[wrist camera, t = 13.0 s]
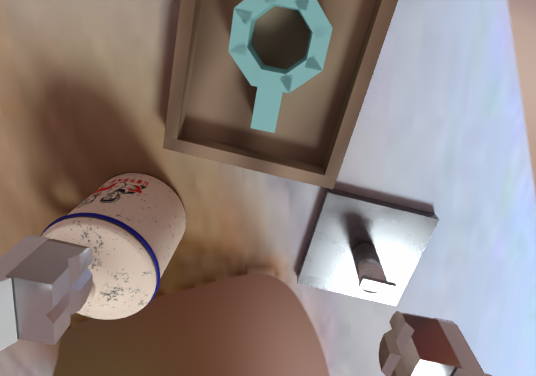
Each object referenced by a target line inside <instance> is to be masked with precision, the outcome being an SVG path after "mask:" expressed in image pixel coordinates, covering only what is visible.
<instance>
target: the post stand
mask: <svg viewBox="0 0 536 376" xmlns="http://www.w3.org/2000/svg"><path fill="white" fill-rule="evenodd" d="M438 221H439V219H438V217H437V216H436V215H435V214H432V213H428V212H424V211H420V210H416V209H412V208H408V207H403V206H399V205H395V204H391V203H387V202H383V201H379V200H375V199H371V198H366V197H362V196H358V195H354V194H350V193H346V192H342V191H338V190H334V189H329V188H327V189H326V192H325V195H324V198H323V201H322V204H321V207H320V210H319V213H318V216H317V219H316V222H315V225H314V228H313V231H312V234H311V237H310V240H309V243H308V246H307V249H306V252H305V255H304V258H303V261H302V264H301V267H300V270H299V273H298V276H297V283H299V284H303V285H307V286H312V287H316V288H320V289H325V290H329V291H333V292H338V293H342V294H346V295H350V296H355V297H359V298H363V299H368V300H372V301H376V302H381V303H385V304H389V305H393V306H396V305H397V303H398V301H399V299H400V297H401V295H402V293H403V291H404V289H405V287H406V285H407V283H408V281H409V279H410V277H411V275H412V273H413V271H414V269H415V267H416V265H417V263H418V261H419V259H420V257H421V255H422V253H423V251H424V249H425V247H426V245H427V243H428V241H429V239H430V237H431V235H432V233H433V231H434V229H435V227H436V225H437V223H438Z"/></svg>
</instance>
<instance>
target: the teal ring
mask: <svg viewBox="0 0 536 376" xmlns="http://www.w3.org/2000/svg"><path fill="white" fill-rule="evenodd" d="M274 6H279V7H283V8H288V9H293V10H298V11H299V13H300V14H301V16H302V18H303V20H304V21H305V23H306V25H307V26H308V28H309V30H310V32H311V33H310V38H309V42H308V47H307V51H306V56H305V57H304V58H302V59H301V60H299V61H298V62H296V63H295V64H294V65H292V66H291V67H289V68H288V69H281V68H277V67H272V66H267V65H264V63H263V62H262V60H261V59H260V57H259V56H258V54H257V53H256V51H255V50H254V48H253V47H252V40H253V33H254V27H255V21H256V20H257V19H258V18H259V17H261V16H262V15H263V14H265V13H266V12H267V11H269V10H270V9H271V8H273V7H274ZM332 29H333V28H332V26H331V24H330V23H329V21H328V19H327V17H326V16H325V14H324V12H323V10H322V8H321V7H320V5H319V3H318V1H317V0H243V1H242V2H241V3H240V4H238V5H237V6H236V7H235V8H234V13H233V20H232V28H231V35H230V43H229V50H228V52H229V53H230V55H231V56H232V58H233V59H234V61H235V62H236V64H237V65H238V67H239V68H240V70H241V71H242V73H243V74H244V75H245V77H246V78H247V80H248V81H249V83H250V84H251V86H256V87H257V93H256V99H255V105H254V110H253V116H252V122H251V128H252V129H257V130H262V131H267V132H272V133H275V128H276V123H277V118H278V113H279V109H280V104H281V99H282V94H283V92H285V93H290V92H292V91H293V90H295V89H296V88H298V87H299V86H301V85H302V84H304V83H305V82H307V81H308V80H310V79H311V78H312V77H314V76H315V75H317V74H318V73H320V72H321V71H322V70H323V66H324V62H325V58H326V54H327V50H328V46H329V41H330V37H331V33H332Z"/></svg>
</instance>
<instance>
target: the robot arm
mask: <svg viewBox="0 0 536 376" xmlns="http://www.w3.org/2000/svg"><path fill="white" fill-rule="evenodd" d="M92 261H93V250H92V249H91V248H90V247H87V246H82V245H78V244H74V243H69V242H65V241H61V240H56V239H50V238H46V237H42V236H37V235H28V236H26V237H25V238H23V239H22V240H21V241H20V242H18V243H17V244H16V245H15V246H13V247H12V248H11V249H10V250H8V251H7V252H6V253H4V254H3V255H2V256H1V257H0V351H1V350H3V349H4V348H6V347H8V346H10V345H11V344H13V343H15V342H16V341H17V340H18V339H22V340H28V341H34V342H40V343H46V344H52V345H55V343H56V342H57V341H58V339H59V338H60V337H61V335H62V334H63V333H64V331H65V330H66V329H67V327H68V326H69V325H70V315H72V314H74V313H76V312H78V311H80V310H81V308H82V307H83V305H84V304H85V303H86V301H87V298H88V296H89V294H90V291H91V287H92V282H93V274H92V273H91V272H90V270H89V269H88V266H89V265H90V264H91V263H92ZM390 324H391V327H392V330H390V331H388V332H387V333H385V334H384V335H383V338H382V340H381V342H380V348H379V363H380V367H381V371H382V372H383V373H384V374H385V375H386V376H491V375H489V374H485V373H484V372H483V370H482V368H481V366H480V365H479V363H478V361H477V359H476V358H475V356H474V354H473V352H472V351H471V349H470V347H469V345H468V344H467V342H466V340H465V338H464V336H463V335H462V333H461V331H460V329H459V328H458V326H457V325H456V324H455V323H454V322H453V321H449V320H443V319H438V318H429V317H424V316H419V315H415V314H410V313H405V312H400V311H397V312H395V313H394V314H393V316H392V318H391V320H390Z"/></svg>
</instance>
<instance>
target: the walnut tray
mask: <svg viewBox="0 0 536 376" xmlns="http://www.w3.org/2000/svg"><path fill="white" fill-rule="evenodd" d="M242 1H243V0H181V1H180V9H179V17H178V26H177V34H176V43H175V51H174V59H173V68H172V76H171V84H170V93H169V101H168V110H167V118H166V126H165V135H164V143H163V148H165V149H169V150H173V151H177V152H181V153H185V154H189V155H193V156H197V157H202V158H206V159H210V160H214V161H218V162H222V163H226V164H230V165H234V166H239V167H243V168H247V169H251V170H255V171H259V172H263V173H267V174H271V175H276V176H280V177H284V178H288V179H292V180H296V181H300V182H304V183H308V184H313V185H317V186H321V187H325V188H329V189H333V188H334V185H335V182H336V179H337V177H338V174H339V171H340V168H341V165H342V162H343V159H344V156H345V153H346V150H347V147H348V145H349V142H350V139H351V136H352V133H353V130H354V127H355V124H356V121H357V118H358V115H359V112H360V110H361V107H362V104H363V101H364V98H365V95H366V92H367V89H368V86H369V83H370V80H371V77H372V75H373V72H374V69H375V66H376V63H377V60H378V57H379V54H380V51H381V48H382V45H383V43H384V40H385V37H386V34H387V31H388V28H389V25H390V22H391V19H392V16H393V13H394V10H395V8H396V5H397V2H398V0H317V1H318V3H319V5H320V7H321V8H322V10H323V12H324V14H325V16H326V17H327V19H328V21H329V23H330V24H331V26H332V28H333V29H332V33H331V37H330V41H329V46H328V50H327V54H326V58H325V62H324V66H323V70H322V71H321V72H320V73H318V74H317V75H315V76H314V77H312V78H311V79H310V80H308V81H307V82H305V83H304V84H302V85H301V86H299V87H298V88H296V89H295V90H293V91H292V92H290V93H285V92H283V94H282V99H281V104H280V109H279V113H278V118H277V123H276V128H275V133H272V132H267V131H262V130H257V129H252V128H251V122H252V116H253V110H254V105H255V99H256V93H257V87H256V86H251V84H250V83H249V81H248V80H247V78H246V77H245V75H244V74H243V73H242V71H241V70H240V68H239V67H238V65H237V64H236V62H235V61H234V59H233V58H232V56H231V55H230V53H229V52H228V50H229V43H230V35H231V28H232V20H233V13H234V8H235V7H236V6H237V5H238V4H240V3H241V2H242ZM310 33H311V32H310V30H309V28H308V26H307V25H306V23H305V21H304V20H303V18H302V16H301V14H300V13H299V11H298V10H293V9H288V8H283V7H279V6H274V7H273V8H271V9H270V10H269V11H267V12H266V13H265V14H263V15H262V16H261V17H259V18H258V19H257V20H256V21H255V27H254V33H253V40H252V47H253V48H254V50H255V51H256V53H257V54H258V56H259V57H260V59H261V60H262V62H263V63H264V65H267V66H272V67H277V68H281V69H288V68H289V67H291V66H292V65H294V64H295V63H296V62H298V61H299V60H301V59H302V58H304V57H305V56H306V51H307V47H308V42H309V38H310Z"/></svg>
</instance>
